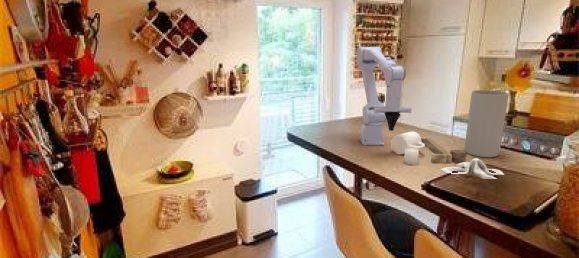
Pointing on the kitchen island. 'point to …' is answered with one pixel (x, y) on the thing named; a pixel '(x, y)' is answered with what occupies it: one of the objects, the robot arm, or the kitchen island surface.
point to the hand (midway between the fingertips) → (390, 130)
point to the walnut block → (458, 156)
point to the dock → (437, 152)
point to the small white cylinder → (411, 156)
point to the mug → (406, 142)
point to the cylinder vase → (486, 122)
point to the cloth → (474, 169)
